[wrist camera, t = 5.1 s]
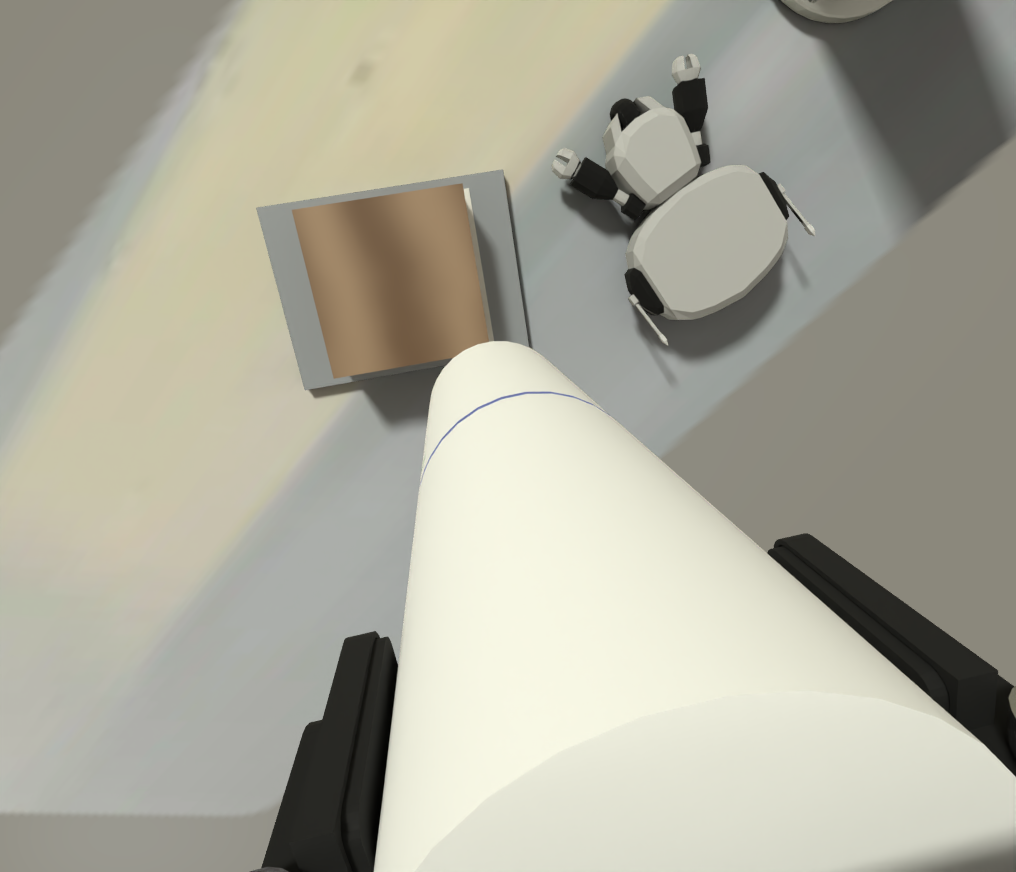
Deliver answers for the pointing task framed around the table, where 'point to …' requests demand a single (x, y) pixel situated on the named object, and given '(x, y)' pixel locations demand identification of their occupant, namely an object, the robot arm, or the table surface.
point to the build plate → (490, 256)
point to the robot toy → (683, 205)
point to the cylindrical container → (642, 673)
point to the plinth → (393, 279)
